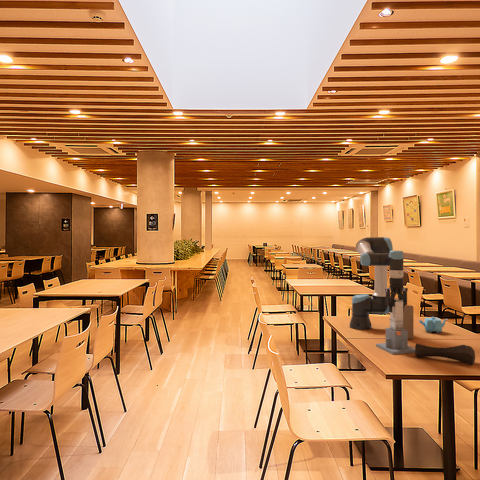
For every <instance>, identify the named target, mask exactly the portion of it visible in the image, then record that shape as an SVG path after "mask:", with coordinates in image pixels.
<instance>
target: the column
mask: <svg viewBox="0 0 480 480" xmlns="http://www.w3.org/2000/svg"><path fill="white" fill-rule="evenodd" d="M393 307H394V318H390V317H389V327H388V328H390V329H391V330H394V331H403V328H404V327H403V321H404V320H403V300H401V299H398V297H397V298H396V297H395V299H394V303H393Z"/></svg>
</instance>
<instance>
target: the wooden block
mask: <svg viewBox="0 0 480 480" xmlns="http://www.w3.org/2000/svg"><path fill="white" fill-rule="evenodd" d="M403 320H404V321H403V327H404V328H403V329H404V330H407V331H408V340H414V306H413V305H408V304H407V305H405V307H404V312H403Z"/></svg>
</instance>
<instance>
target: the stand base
mask: <svg viewBox="0 0 480 480" xmlns="http://www.w3.org/2000/svg"><path fill="white" fill-rule="evenodd" d="M408 341H409V339H408V331H407V330H404V329H403V331H394V330H391V329H390V327H385V342H380V343H376V344H375V347H377V348H379V349H380V350H382V351H385V352H387V353H389V354H390V355H391V354H392V355H403V354H415V347H413V346H410V345H409V343H408Z"/></svg>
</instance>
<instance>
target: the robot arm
mask: <svg viewBox="0 0 480 480" xmlns="http://www.w3.org/2000/svg"><path fill="white" fill-rule="evenodd" d="M355 251H356V253H358V254H359V255H360V259H359V261H360V265H361V266H366V267H368V266H369V267H370V266H371V267H373V266H374V287H373V288H374V289H373V290H374V292H373V293H371V296H370V295H369V294H367V293H366V294H364V293H363V294H356V295H353V296H352V298H351V317H350V322H349V327H350V328H351V329H354V330H360V331H362V330H363V331H366V330H367V331H369V330H371V329H372V326H373V324H372V322H371V319H370V314H380V315H381V314H382V315H383V314H385V315H386V314H389V319H390V318H394V307H393V303H394V299H395V298H396V296H397V299H401V300H403V312H404V307H405V305H408V290H409V288H408V287H404V284H405V283H404V281H405V280H404V278H403V277H404V258H405V255H404V251H403V250H394V249H393V243H392V240H391V238H390V237H384V236H379V237H370V236H369V237H364V238H362V239H360V240H358V241H357V242H356V244H355ZM388 267H389V272H388ZM388 273H389V275H388ZM388 276H389V278H388ZM388 279H389V285H388Z"/></svg>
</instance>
